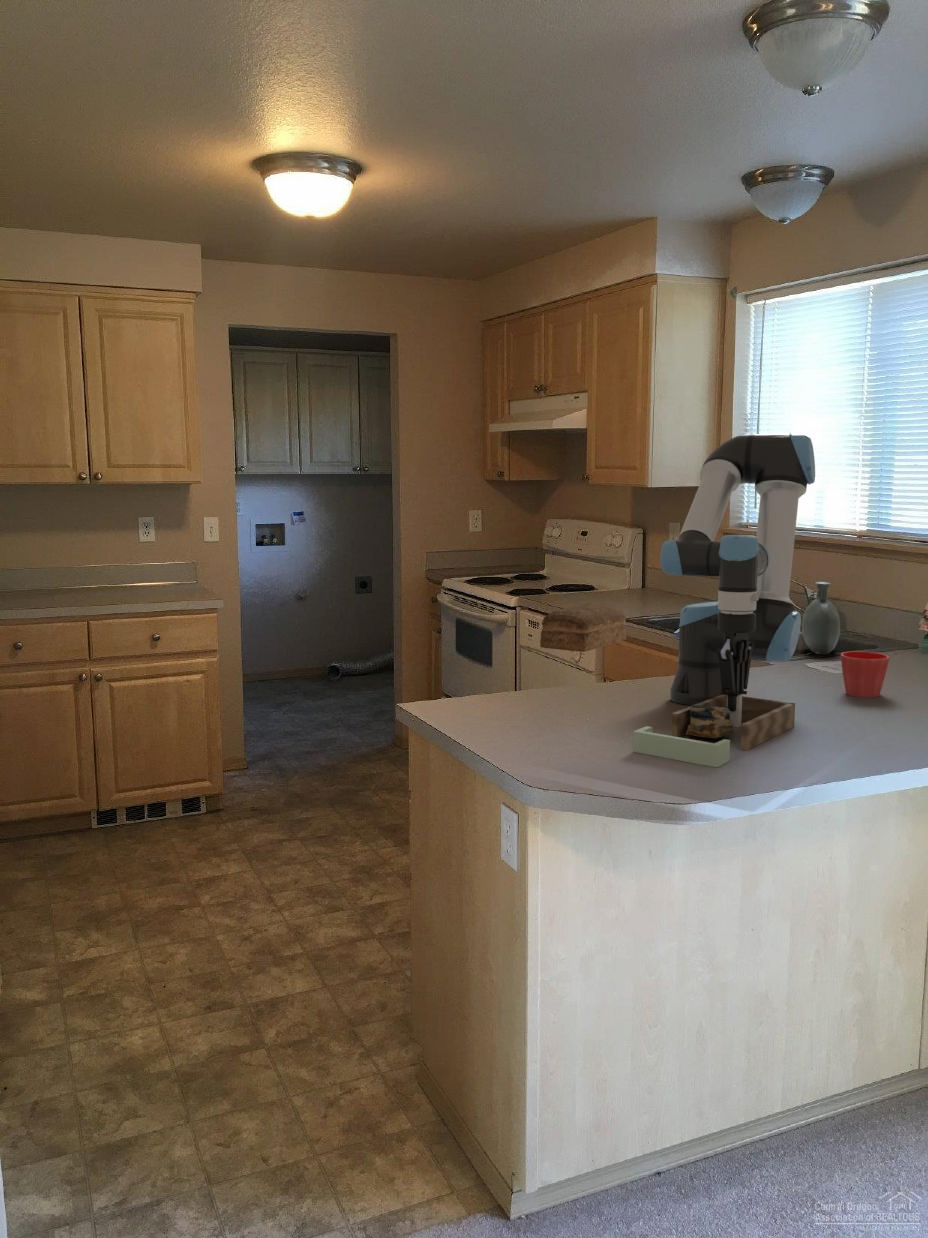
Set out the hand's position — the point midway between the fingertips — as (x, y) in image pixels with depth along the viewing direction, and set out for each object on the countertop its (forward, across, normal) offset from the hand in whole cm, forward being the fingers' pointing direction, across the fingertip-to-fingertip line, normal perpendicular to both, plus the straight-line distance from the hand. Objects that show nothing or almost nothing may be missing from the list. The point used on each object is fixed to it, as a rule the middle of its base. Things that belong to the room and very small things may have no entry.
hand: (733, 725), depth 206 cm
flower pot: (+2, +56, -9) cm, 57 cm away
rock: (+2, -10, 0) cm, 10 cm away
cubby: (+2, +1, 0) cm, 2 cm away
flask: (+2, +105, +19) cm, 107 cm away
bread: (+2, +76, +83) cm, 112 cm away
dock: (+2, -25, 0) cm, 25 cm away
